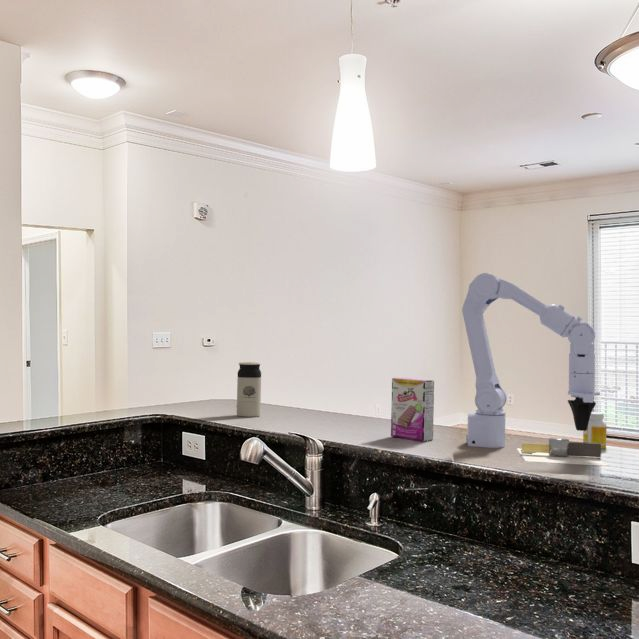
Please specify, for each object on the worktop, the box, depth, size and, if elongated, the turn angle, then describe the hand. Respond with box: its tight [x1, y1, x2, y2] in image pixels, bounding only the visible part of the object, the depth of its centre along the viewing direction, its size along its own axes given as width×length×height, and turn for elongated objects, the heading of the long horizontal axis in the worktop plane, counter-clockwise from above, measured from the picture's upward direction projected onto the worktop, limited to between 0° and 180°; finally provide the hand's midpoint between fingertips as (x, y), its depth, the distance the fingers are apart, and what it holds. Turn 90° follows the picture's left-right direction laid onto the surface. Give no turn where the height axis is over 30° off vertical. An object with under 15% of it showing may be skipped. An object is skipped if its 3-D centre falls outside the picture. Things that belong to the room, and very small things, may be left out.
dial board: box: [515, 447, 609, 467], centre depth 149 cm, size 17×17×1 cm
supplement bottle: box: [582, 411, 607, 450], centre depth 163 cm, size 5×5×10 cm
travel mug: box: [236, 361, 262, 418], centre depth 219 cm, size 8×8×18 cm
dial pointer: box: [521, 437, 602, 458], centre depth 149 cm, size 17×4×4 cm, turn 80°
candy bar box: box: [390, 377, 435, 442], centre depth 177 cm, size 11×5×16 cm, turn 47°
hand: (581, 430), depth 154 cm, fingers closed
